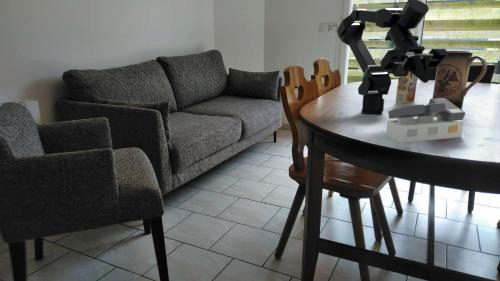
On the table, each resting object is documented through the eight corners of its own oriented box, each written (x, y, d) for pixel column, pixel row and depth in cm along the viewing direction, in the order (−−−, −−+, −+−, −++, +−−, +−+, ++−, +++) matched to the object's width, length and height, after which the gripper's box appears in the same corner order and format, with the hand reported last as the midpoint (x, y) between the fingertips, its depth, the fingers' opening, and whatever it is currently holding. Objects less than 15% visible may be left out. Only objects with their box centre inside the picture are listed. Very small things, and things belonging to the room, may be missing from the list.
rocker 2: (409, 117, 96) (408, 109, 96) (423, 116, 97) (422, 108, 97) (430, 112, 88) (429, 103, 89) (446, 111, 89) (444, 102, 90)
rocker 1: (389, 118, 95) (388, 110, 95) (403, 117, 96) (402, 109, 96) (409, 113, 87) (408, 105, 87) (425, 112, 88) (424, 104, 88)
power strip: (385, 137, 95) (387, 115, 94) (443, 131, 100) (446, 111, 98) (400, 143, 90) (403, 120, 88) (461, 137, 94) (464, 115, 93)
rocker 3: (427, 105, 98) (430, 98, 96) (441, 104, 99) (444, 97, 97) (447, 121, 91) (451, 113, 90) (462, 119, 92) (465, 112, 91)
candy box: (405, 104, 141) (410, 64, 137) (395, 103, 144) (398, 63, 140) (415, 101, 147) (419, 62, 143) (404, 100, 150) (408, 62, 146)
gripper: (415, 59, 117) (437, 98, 109) (363, 60, 112) (382, 101, 105) (436, 32, 108) (461, 73, 100) (381, 33, 103) (403, 75, 95)
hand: (426, 81), depth 100 cm, fingers closed
